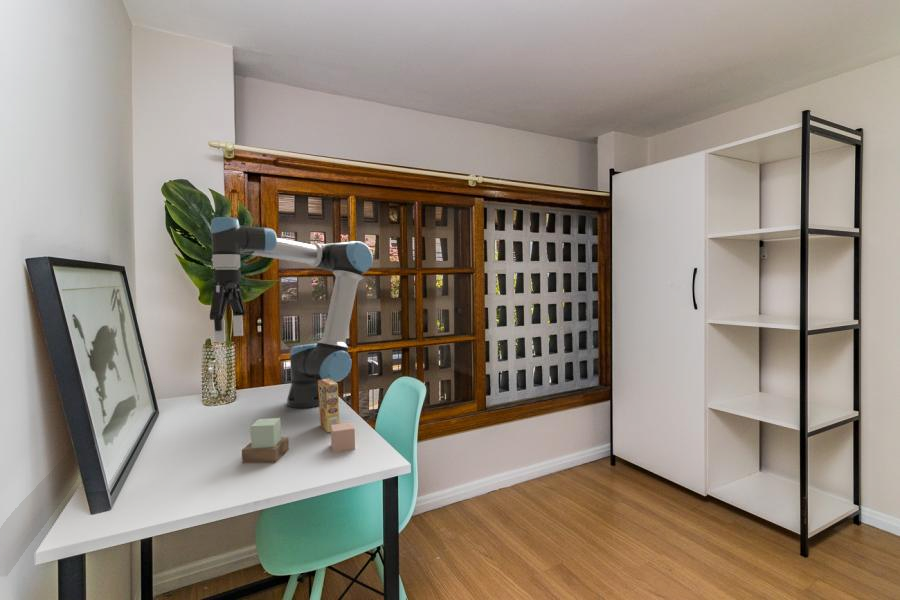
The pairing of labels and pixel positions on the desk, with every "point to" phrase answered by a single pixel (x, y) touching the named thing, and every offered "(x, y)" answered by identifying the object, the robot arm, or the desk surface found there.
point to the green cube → (265, 433)
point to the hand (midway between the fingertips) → (229, 338)
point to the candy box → (328, 403)
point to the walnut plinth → (265, 452)
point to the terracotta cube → (342, 437)
